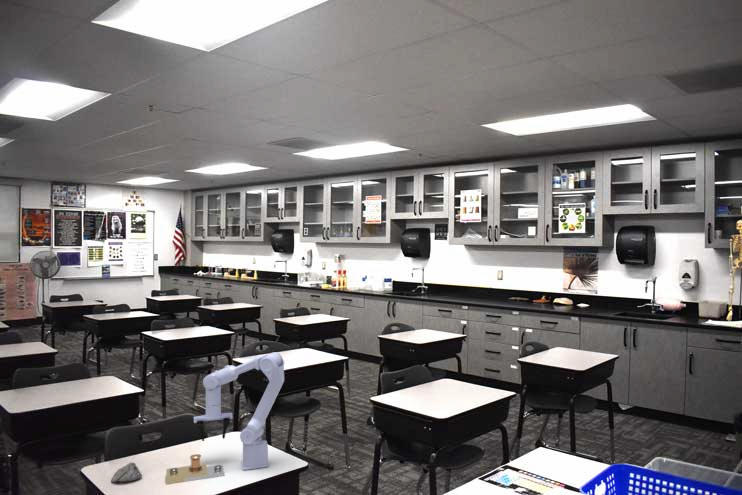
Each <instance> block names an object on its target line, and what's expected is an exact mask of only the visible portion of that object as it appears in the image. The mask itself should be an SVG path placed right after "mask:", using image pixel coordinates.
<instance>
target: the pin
mask: <svg viewBox="0 0 742 495" xmlns="http://www.w3.org/2000/svg"><path fill="white" fill-rule="evenodd" d="M201 457H202V455H201V454H197V453H196V454H191V455H190V457H189V458H190V460H191V461H190V463H191V464H190V466H191V472H195V471H200V464H201Z"/></svg>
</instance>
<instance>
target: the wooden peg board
mask: <svg viewBox="0 0 742 495" xmlns="http://www.w3.org/2000/svg"><path fill="white" fill-rule="evenodd" d="M165 474H166V477H165V484H166V485H169V484H177V483H183V482H189V481H196V480H203V479H205V480H206V479H210V478H218V477H223V476H224V477H225V469H224V465H223V464H216V465H210V466H208V465H207V463H200V471H195V472H191V465H187V466H180V467H179V466H178V467H171V468H166V473H165Z"/></svg>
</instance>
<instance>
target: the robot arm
mask: <svg viewBox="0 0 742 495" xmlns="http://www.w3.org/2000/svg"><path fill="white" fill-rule="evenodd" d="M284 367H285V360H284V359H283V356H282V355H281V354H280V353H279V352H278V351H277V352H275V351H273V352H270V353H269V354H264V355H260V356H257V357H254V358H253V359H250V360H248V361H245V362H243V363H242V364H239V365H237V366H235V365H229V364H227V365H225V366H224V367H223V368H222V369H219V370H218V369H216V370H214V371H213V372H211V373H210V374H207V375H206V376H205V377H203V379H202V380H203V381H202V385H203V387H204V388H205V414H202V415H197V416H193V423H194V424H196V426H197V428H198V430H199V432H200V435H201V441H202V442H204V441H205V433H204V432H205V427H204V424H205V423H204V422H211V421H212V422H213V421H221V420H222V434H221V435H222V439H223V440H224V439H225V438H226V434H227V429H228V427H229V425H230V423H231V420H233V417H234V416H233V415H234V414H233V412H222V409H221V408H222V393H221V391H222V386H224V385H226V384H228V383H230V382H232V381H235V380H237V379H238V377H239V375H241V374H242V373H246V372H249V371H250V370H253V369H255V370H257V371H261V372H262V373H263V374H264V375H265V377H266V378H267V379H268V384H267V385H266V388H265V391H264V392H263V395H262V397H261V398H260V401H259V402H258V405H257V407H256V409H255V411H254V414H253V416H252V417H251V419H250V420H249V422H248V423H247V425H246V427H245V428H243V429H242V430H241V432H240V434H239V438H240V441H241V443H242V461H240V464H241V465H240V466H241V468H242V471H247V470H249V471H250V470H255V469H256V470H257V469H262V468H268V467H269V448H268V447H269V446H268V445H269V444H268V441H267V440H263V439H262V436H263V435H264V433H265V425H266V419H267V418H268V415H269V414H270V411H271V410H272V407H273V405H274V403H275V402H276V399H277V396H278V395H279V392H280V391H281V389H282V386H283V384H284V383H285V368H284Z"/></svg>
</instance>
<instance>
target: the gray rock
mask: <svg viewBox="0 0 742 495" xmlns="http://www.w3.org/2000/svg"><path fill="white" fill-rule="evenodd" d="M136 464H137V463H135V462H128V463H127V464H126V465H124V466H122V467H120V468H118V469H117V471H116V472H115V473H114V474H113V476H112V477H111V479H110V482H111V483H112V482H113V484H115V483H117V482H121V483H122V482H123V483H124V482H125V483H126V482H132V481H136V480H138V479H141V478H143V474H142V472H141V471H140V470H139V467H138V466H137V465H136Z"/></svg>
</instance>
